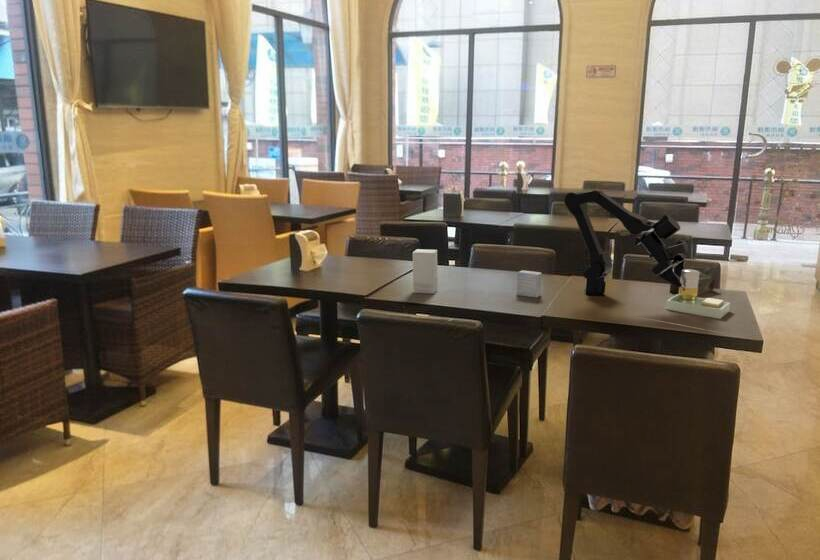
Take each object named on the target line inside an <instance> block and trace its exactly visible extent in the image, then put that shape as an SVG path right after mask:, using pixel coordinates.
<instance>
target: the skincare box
mask: <svg viewBox="0 0 820 560" xmlns="http://www.w3.org/2000/svg"><path fill="white" fill-rule="evenodd" d="M438 273H439V272H438V249H427V248H426V249H420V248H417V249H415V250H414V251H413V252H412V291H413V293H415V294H430V295H434V294H435V293H436V292H437V291H438V290H439V289H438V288H439V287H438Z"/></svg>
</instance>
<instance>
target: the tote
mask: <svg viewBox="0 0 820 560" xmlns="http://www.w3.org/2000/svg"><path fill="white" fill-rule="evenodd" d="M705 299H706V298H703V297H698V296H697V300H696V305H694V304H688V303H682V302H678V294H675V295H673V296H671V297H670V298H669V299H667V300H666V305H665V306H666V307H665V310H670V311H674V312H680V313H686V314H691V315H692V314H693V315H697V316H701V317H702V316H703V317H709V318H714V319H720V320H721V319H722V318H724V317H725V316H726V315H727V314H728V313H730V306H731V302H727V301H724V304H723V307H722V308H721V309H717V308H711V307H705V306H701V304H702V301H704V300H705Z"/></svg>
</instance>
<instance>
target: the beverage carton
mask: <svg viewBox="0 0 820 560" xmlns="http://www.w3.org/2000/svg"><path fill="white" fill-rule="evenodd" d="M677 277H678V279H679V280H680V279H681V278H680V277H679V276H677ZM715 279H716V276H714V275H710V274H704V273H703V272H700V273H699V281H698V292H697V296H699V295H703V294H706V293H709V291H710V292H712V291H711V290H713V291H714V287H715ZM702 293H703V294H702ZM669 294H673V295H674V294H675V295H677V294H679V287H678V286H676V285H674V284H672V283H670V284H669Z"/></svg>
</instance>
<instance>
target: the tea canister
mask: <svg viewBox="0 0 820 560" xmlns="http://www.w3.org/2000/svg"><path fill="white" fill-rule="evenodd" d="M699 273H701V272H700V270H698V269H697V270H696V269H691V268H685V269H683V270H682V271H681V279H680V282H681V284H682V286H681V287H679V294H678V302H682V303H688V304H694V305H696V300H697V297H698V295H697V292H698V281H699Z"/></svg>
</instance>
